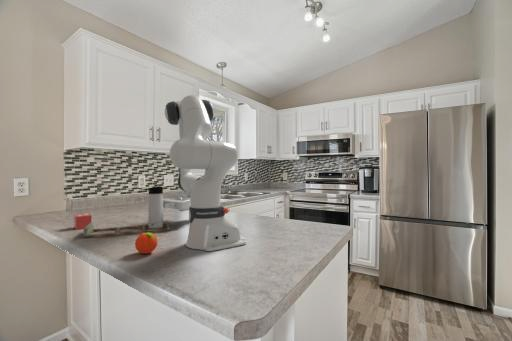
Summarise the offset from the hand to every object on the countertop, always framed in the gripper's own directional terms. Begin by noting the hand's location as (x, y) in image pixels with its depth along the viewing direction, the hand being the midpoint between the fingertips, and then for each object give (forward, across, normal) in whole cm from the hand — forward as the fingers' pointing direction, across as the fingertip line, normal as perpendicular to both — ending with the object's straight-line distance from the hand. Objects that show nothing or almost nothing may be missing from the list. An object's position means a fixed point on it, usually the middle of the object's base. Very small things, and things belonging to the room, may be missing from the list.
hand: (158, 205), depth 117 cm
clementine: (+21, +28, +11) cm, 37 cm away
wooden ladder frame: (+11, -5, +11) cm, 16 cm away
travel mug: (+1, 0, +11) cm, 11 cm away
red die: (+22, -30, +11) cm, 38 cm away
